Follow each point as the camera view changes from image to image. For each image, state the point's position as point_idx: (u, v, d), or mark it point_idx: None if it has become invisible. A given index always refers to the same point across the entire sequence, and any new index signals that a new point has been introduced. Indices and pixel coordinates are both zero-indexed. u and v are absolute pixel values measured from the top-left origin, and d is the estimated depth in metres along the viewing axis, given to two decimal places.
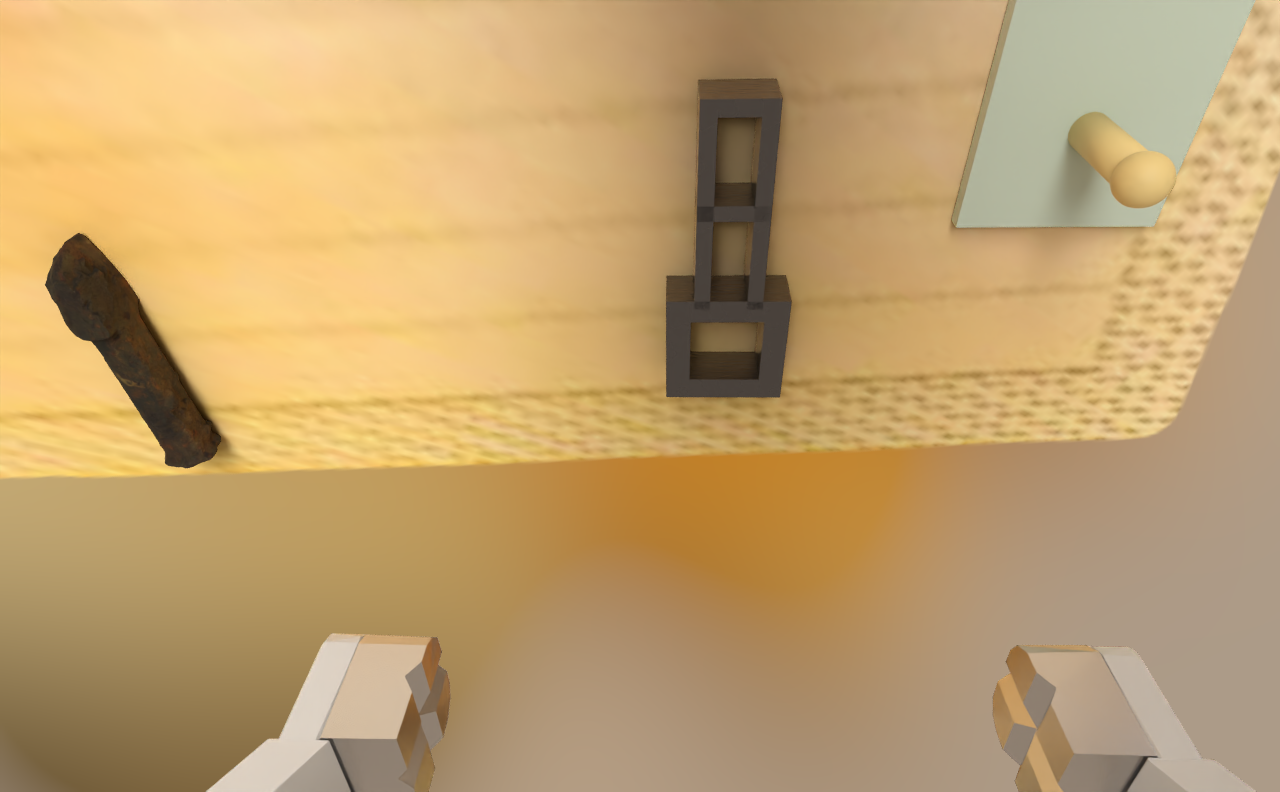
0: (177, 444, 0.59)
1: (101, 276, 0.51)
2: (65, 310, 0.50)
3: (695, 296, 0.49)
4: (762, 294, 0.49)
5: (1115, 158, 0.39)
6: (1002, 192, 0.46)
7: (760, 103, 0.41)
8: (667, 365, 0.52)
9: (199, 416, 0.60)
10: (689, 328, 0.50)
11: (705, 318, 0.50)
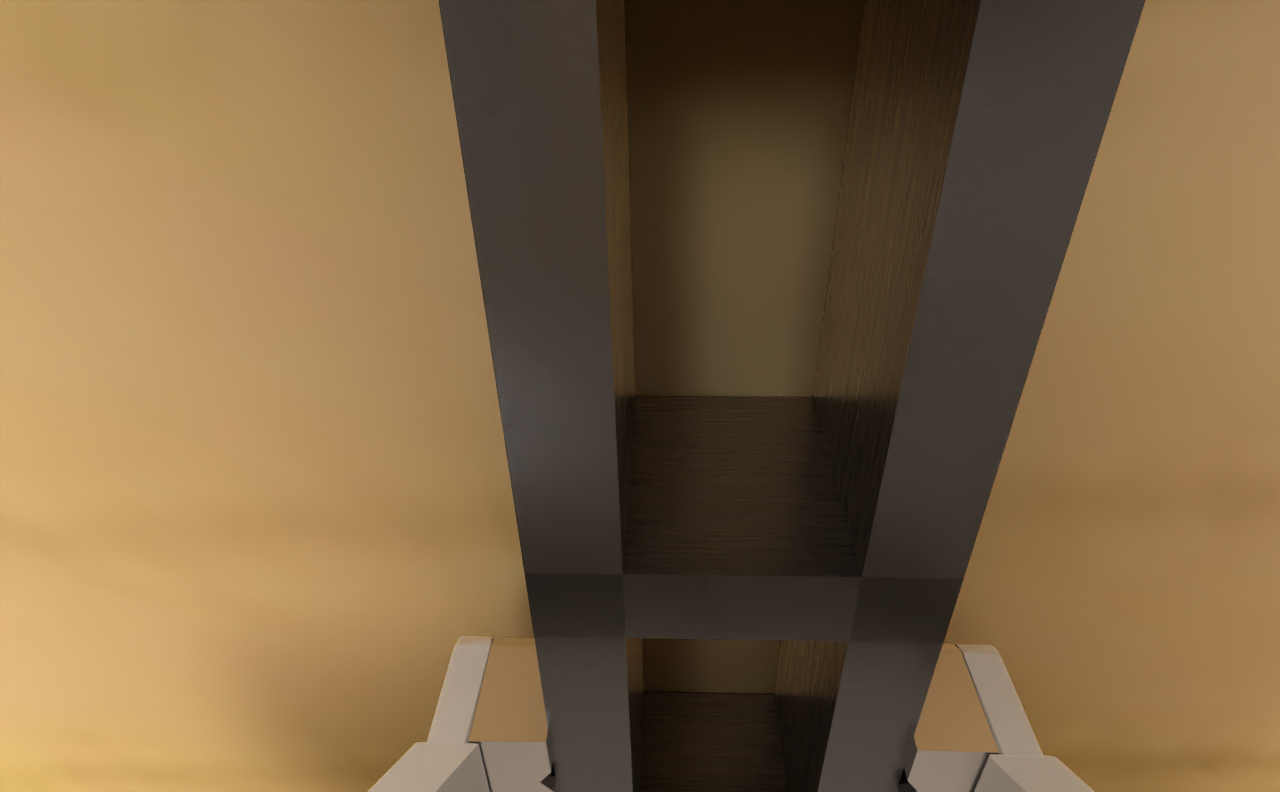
0: None
1: None
2: None
3: None
4: None
5: None
6: None
7: None
8: None
9: None
10: None
11: None
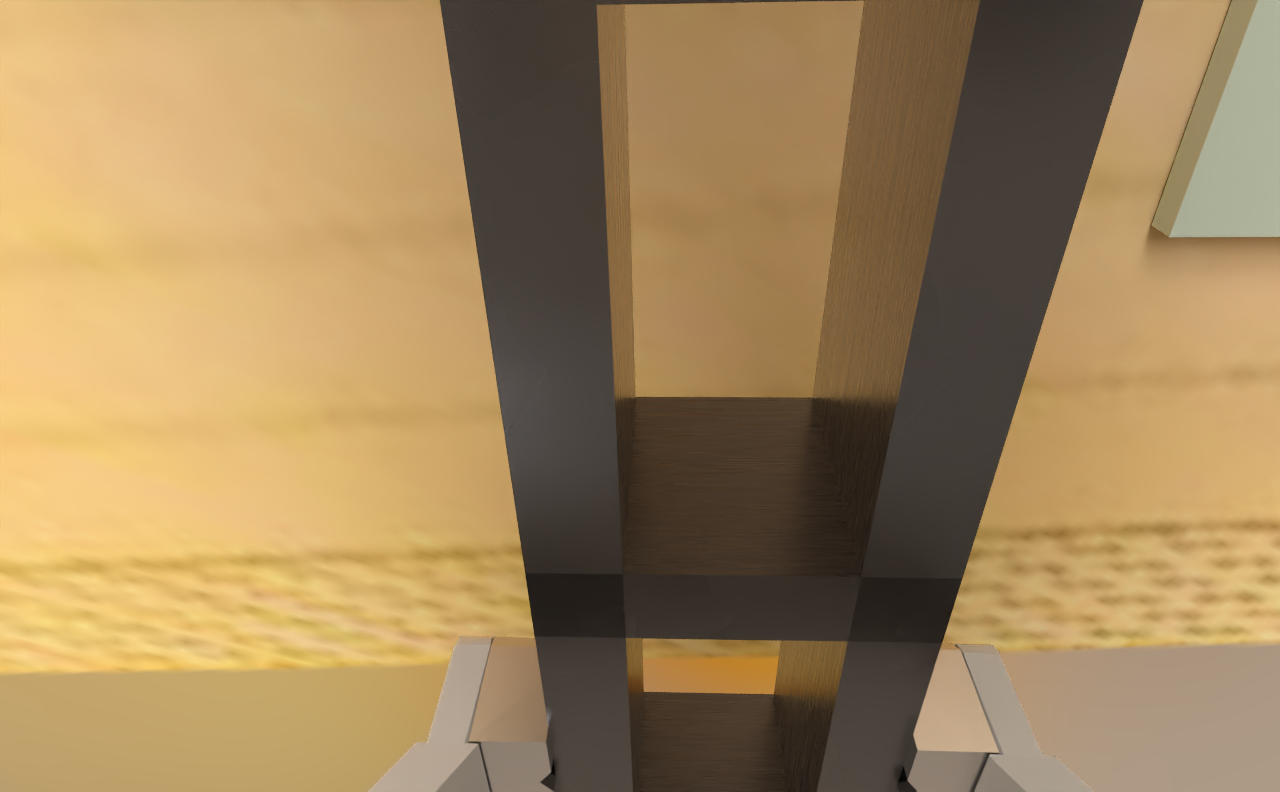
0: None
1: None
2: None
3: None
4: None
5: None
6: (1279, 157, 0.21)
7: None
8: None
9: None
10: None
11: None
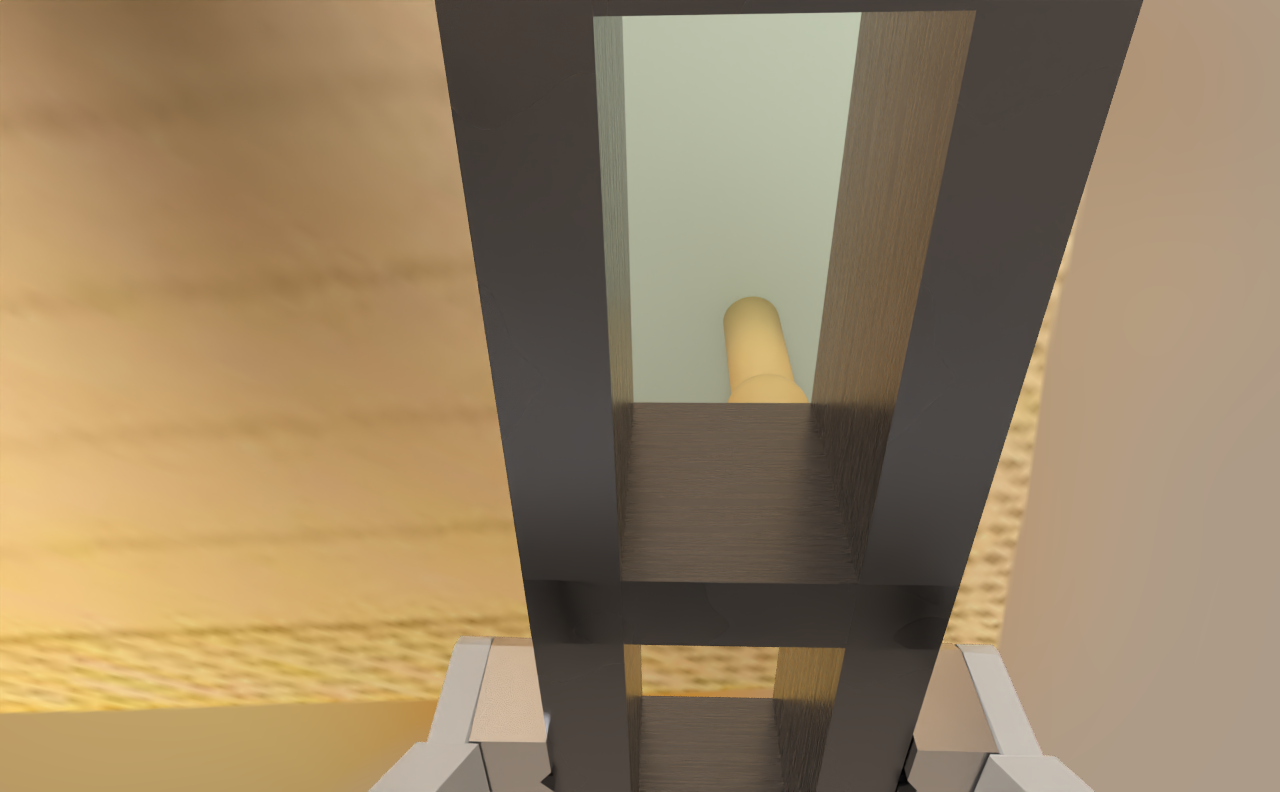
0: None
1: None
2: None
3: None
4: None
5: (736, 379, 0.26)
6: (657, 398, 0.33)
7: None
8: None
9: None
10: None
11: None
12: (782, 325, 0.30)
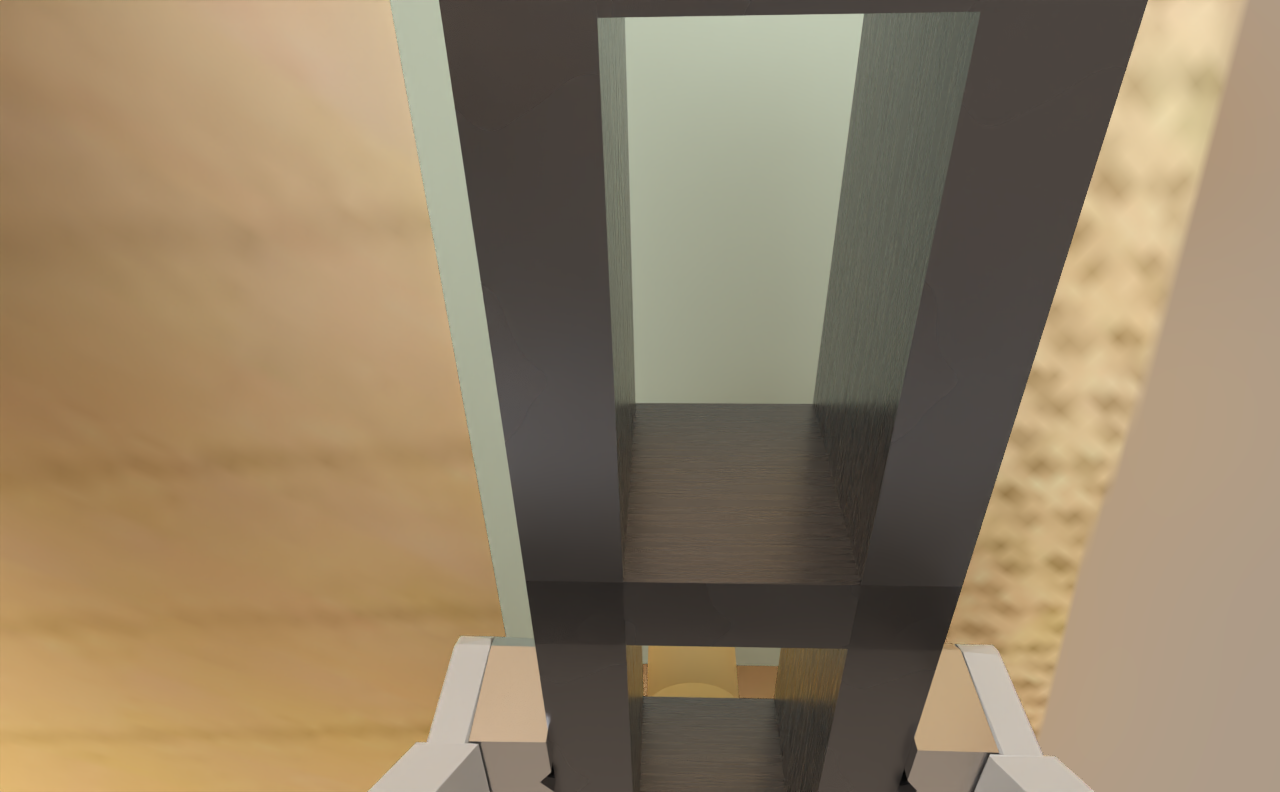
0: None
1: None
2: None
3: None
4: None
5: (653, 676, 0.18)
6: None
7: None
8: None
9: None
10: None
11: None
12: None
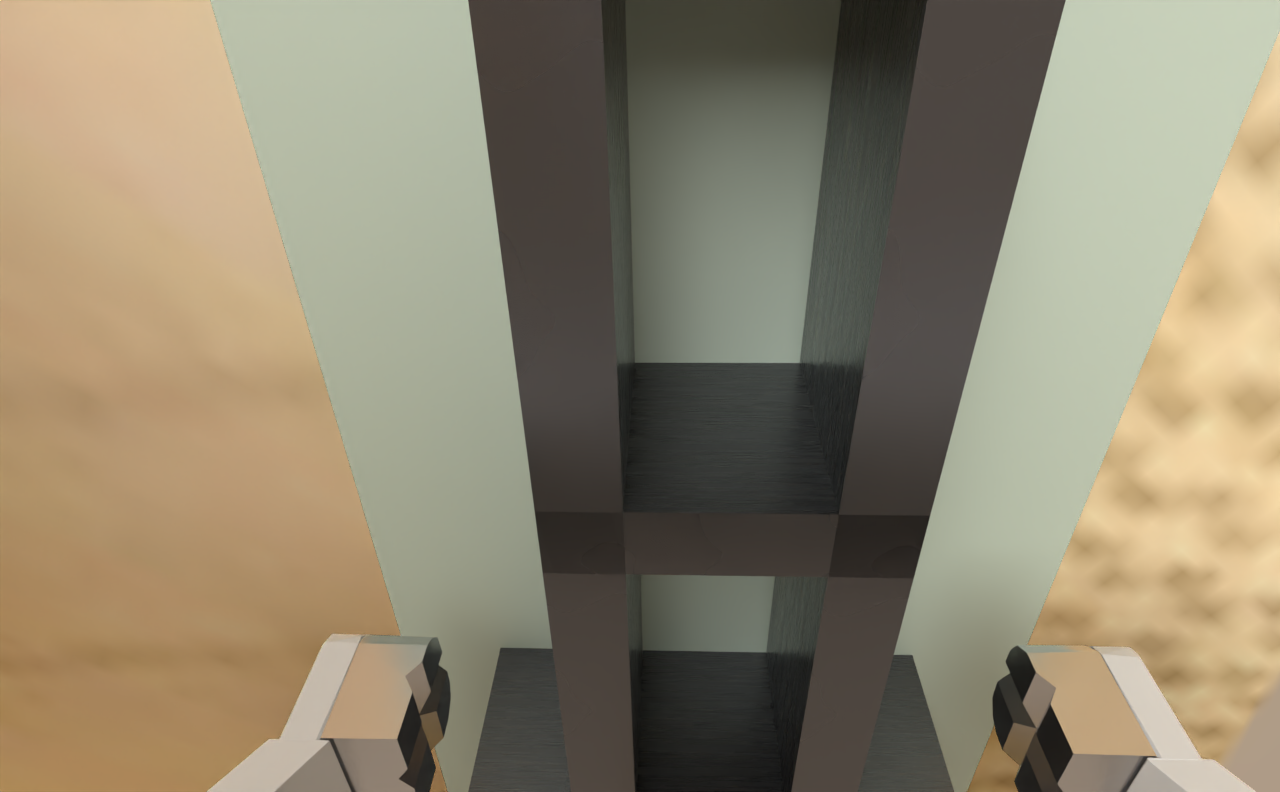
0: None
1: None
2: None
3: None
4: None
5: None
6: None
7: None
8: None
9: None
10: None
11: None
12: None
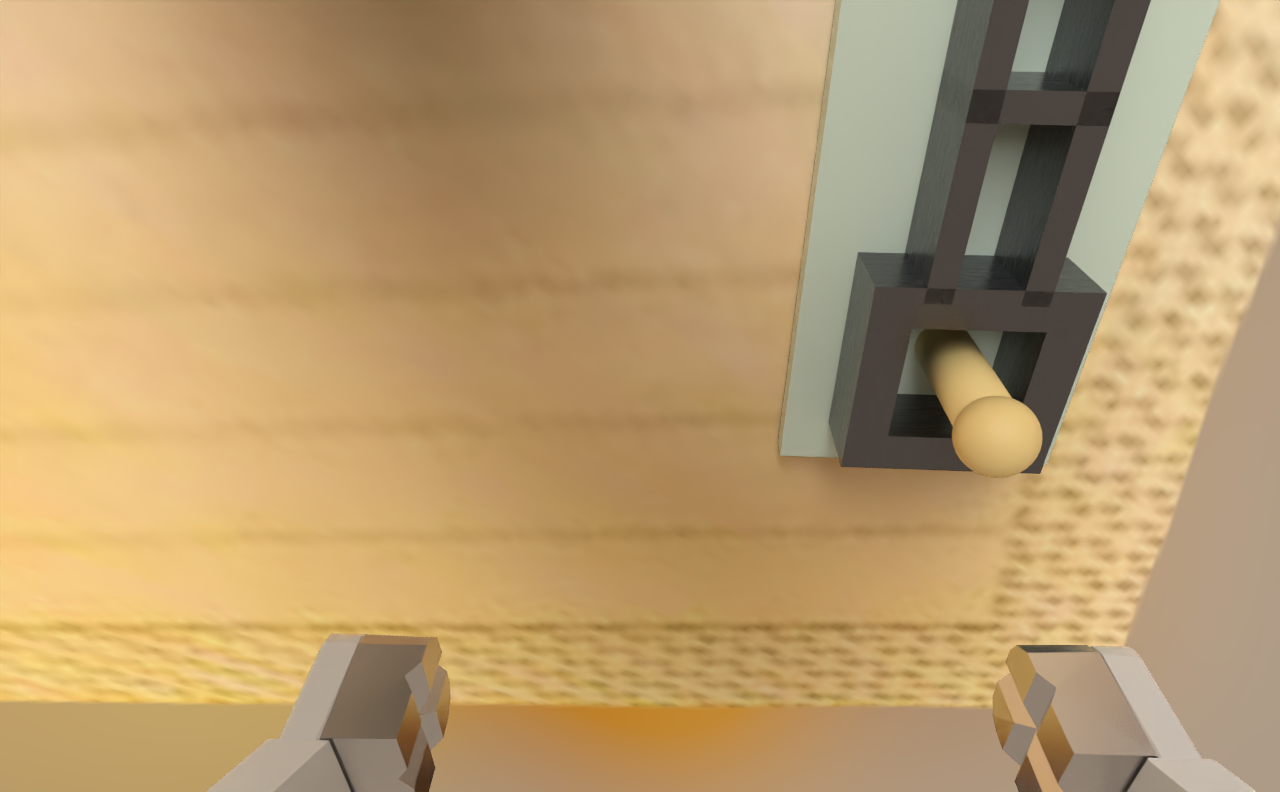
0: None
1: None
2: None
3: (931, 277, 0.27)
4: (1056, 277, 0.26)
5: (960, 399, 0.27)
6: None
7: None
8: (854, 409, 0.30)
9: None
10: (907, 340, 0.28)
11: (940, 321, 0.27)
12: None
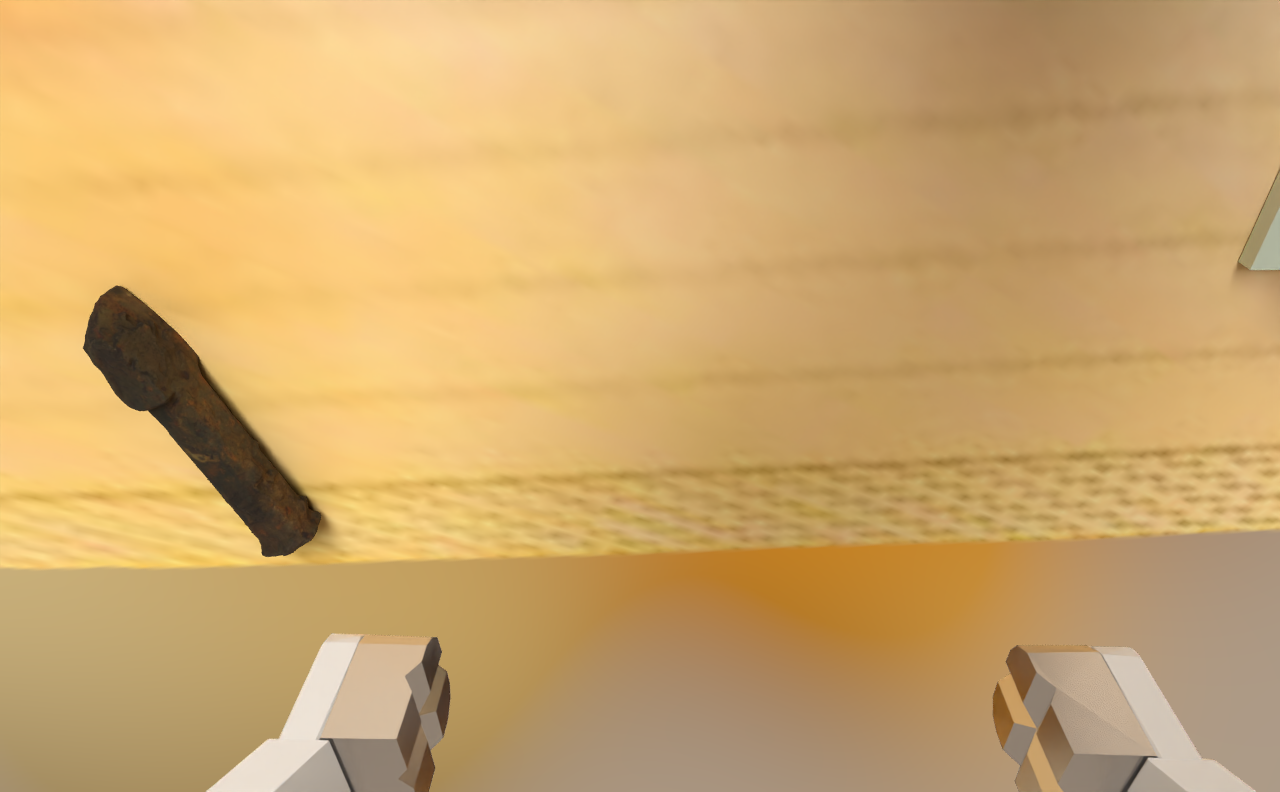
0: (270, 527, 0.49)
1: (147, 331, 0.43)
2: (111, 376, 0.42)
3: None
4: None
5: None
6: None
7: None
8: None
9: (290, 490, 0.50)
10: None
11: None
12: None
